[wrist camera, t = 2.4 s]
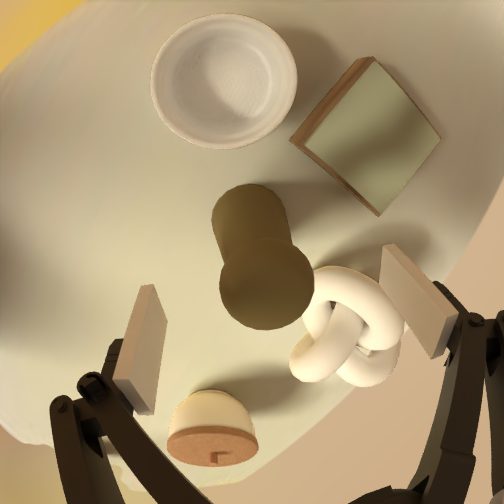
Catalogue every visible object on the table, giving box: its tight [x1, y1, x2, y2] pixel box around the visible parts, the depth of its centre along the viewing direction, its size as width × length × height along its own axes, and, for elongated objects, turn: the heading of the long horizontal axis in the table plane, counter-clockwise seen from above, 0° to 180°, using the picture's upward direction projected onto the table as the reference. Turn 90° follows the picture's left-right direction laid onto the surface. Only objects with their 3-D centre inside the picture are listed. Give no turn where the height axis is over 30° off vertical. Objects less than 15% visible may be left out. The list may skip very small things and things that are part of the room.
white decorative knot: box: [289, 265, 405, 387], centre depth 26 cm, size 11×12×9 cm
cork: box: [211, 184, 315, 330], centre depth 20 cm, size 6×6×11 cm
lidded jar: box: [167, 389, 259, 467], centre depth 32 cm, size 11×11×9 cm
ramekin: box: [150, 13, 298, 149], centre depth 17 cm, size 9×9×4 cm
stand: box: [289, 56, 441, 217], centre depth 21 cm, size 9×9×3 cm
